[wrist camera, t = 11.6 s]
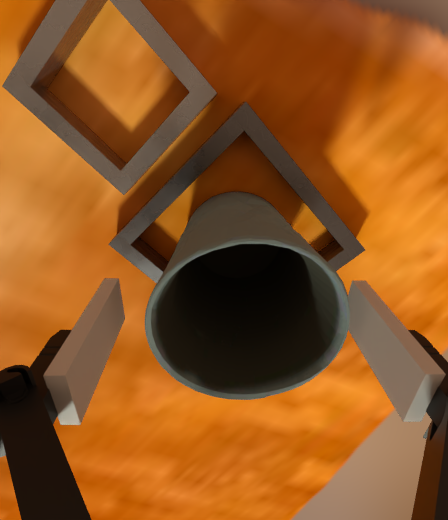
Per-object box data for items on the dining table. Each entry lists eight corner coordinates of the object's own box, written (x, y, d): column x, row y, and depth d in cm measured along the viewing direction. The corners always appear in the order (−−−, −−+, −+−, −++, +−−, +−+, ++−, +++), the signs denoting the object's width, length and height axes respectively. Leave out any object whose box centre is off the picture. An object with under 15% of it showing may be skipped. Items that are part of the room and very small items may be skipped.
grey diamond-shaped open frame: (21, 87, 20) (2, 86, 18) (104, -41, 17) (91, -58, 15) (131, 188, 23) (123, 195, 22) (217, 94, 20) (216, 92, 19)
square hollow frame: (116, 234, 25) (108, 244, 23) (243, 101, 21) (245, 101, 19) (232, 330, 30) (232, 344, 28) (355, 240, 26) (365, 250, 24)
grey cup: (160, 262, 26) (118, 367, 16) (207, 154, 22) (193, 198, 12) (260, 302, 28) (283, 420, 18) (320, 210, 24) (397, 292, 14)
